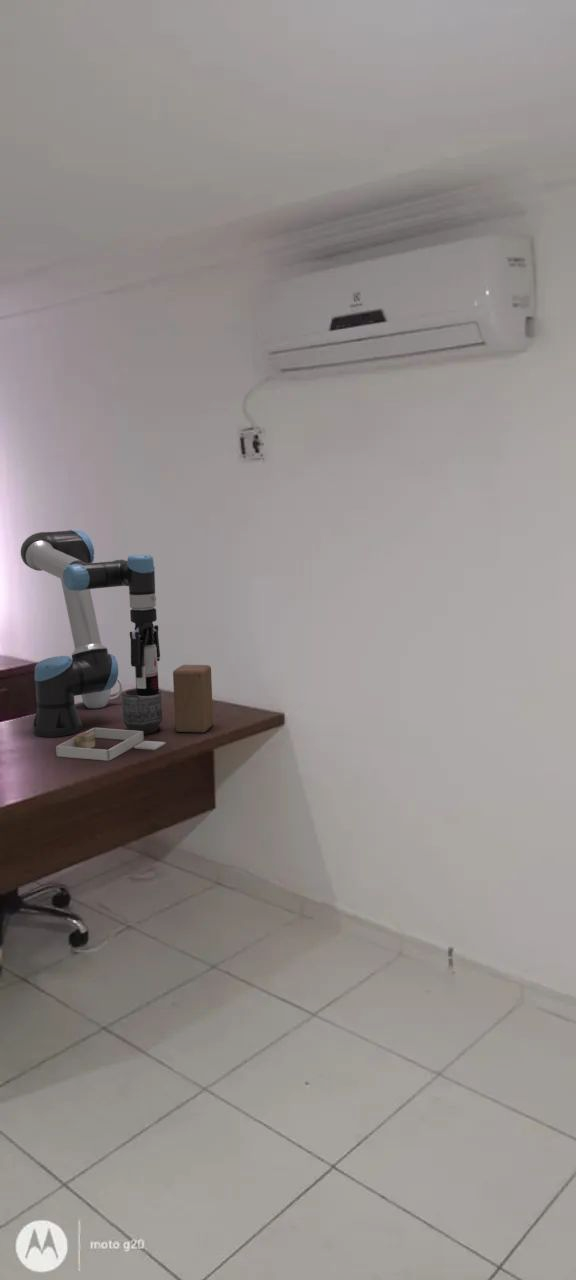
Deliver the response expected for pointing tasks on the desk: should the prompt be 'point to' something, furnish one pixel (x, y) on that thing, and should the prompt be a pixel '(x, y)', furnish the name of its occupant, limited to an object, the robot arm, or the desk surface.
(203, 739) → the desk surface
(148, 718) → the planter
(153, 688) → the beverage can
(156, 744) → the pad
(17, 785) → the desk surface
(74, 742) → the bin
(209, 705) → the wooden block
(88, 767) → the desk surface
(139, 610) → the robot arm
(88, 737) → the beech block
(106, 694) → the mug
